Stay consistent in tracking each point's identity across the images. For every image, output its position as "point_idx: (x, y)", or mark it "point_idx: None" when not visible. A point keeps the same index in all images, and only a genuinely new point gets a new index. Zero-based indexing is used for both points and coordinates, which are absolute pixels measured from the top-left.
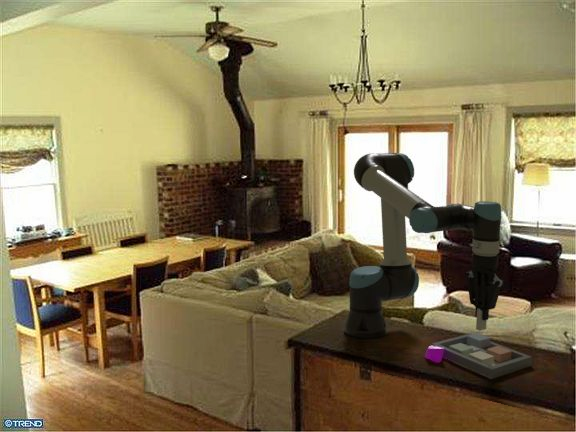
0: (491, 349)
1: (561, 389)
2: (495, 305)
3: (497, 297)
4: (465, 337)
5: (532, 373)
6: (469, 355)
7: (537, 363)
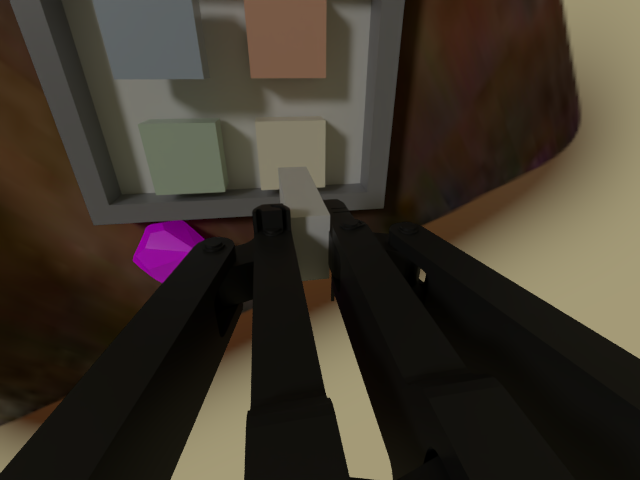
0: (265, 61)
1: (543, 65)
2: (438, 240)
3: (513, 292)
4: (44, 10)
5: (430, 29)
6: (265, 189)
7: None
